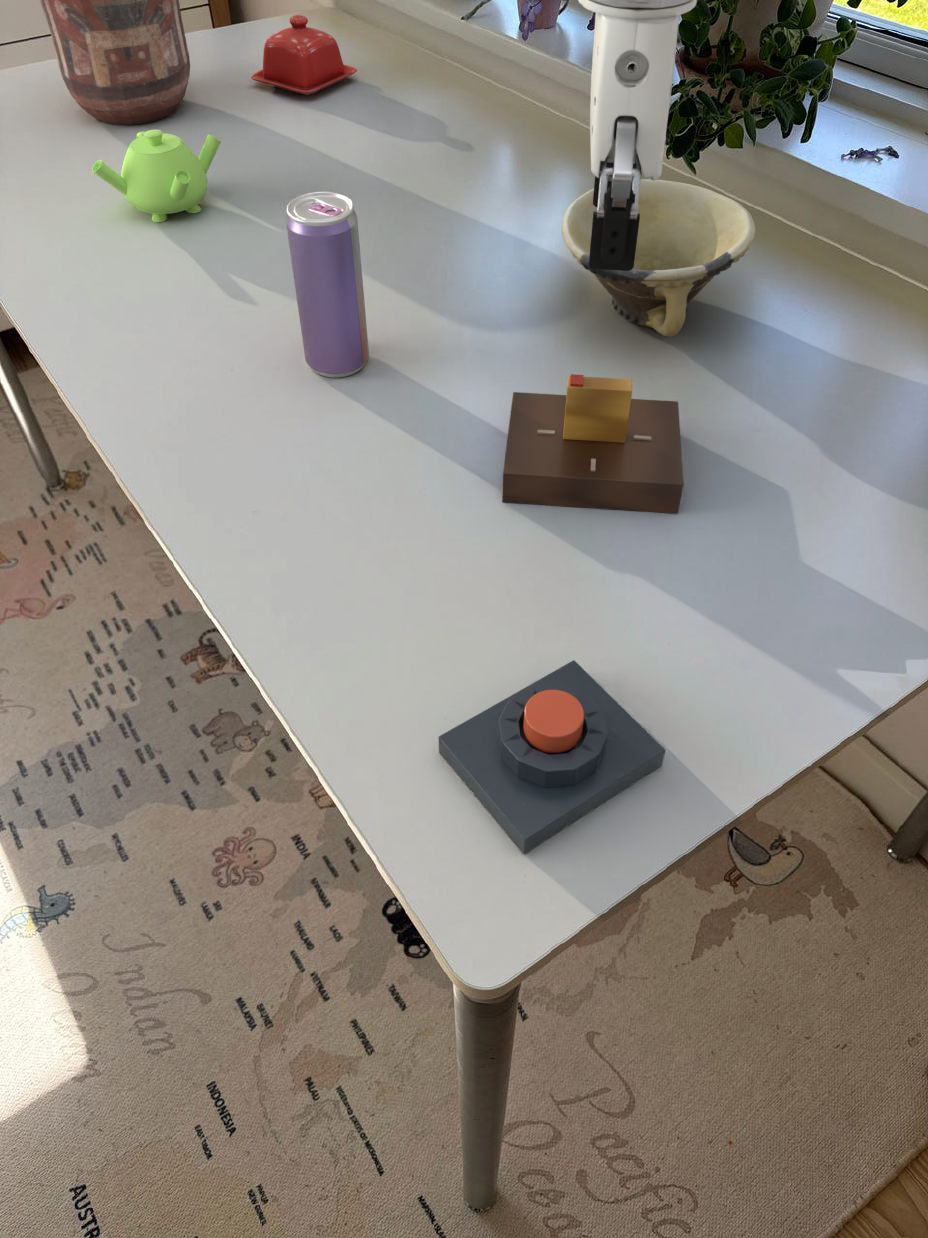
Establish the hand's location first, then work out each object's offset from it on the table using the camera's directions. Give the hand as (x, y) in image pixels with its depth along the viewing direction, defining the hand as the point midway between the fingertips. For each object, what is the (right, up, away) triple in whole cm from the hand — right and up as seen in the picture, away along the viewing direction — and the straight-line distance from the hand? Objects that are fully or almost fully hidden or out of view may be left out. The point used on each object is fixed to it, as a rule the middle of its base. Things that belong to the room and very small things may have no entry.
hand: (611, 235), depth 76 cm
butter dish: (-34, +47, +67) cm, 88 cm away
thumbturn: (-1, -14, +6) cm, 15 cm away
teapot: (-45, +18, +41) cm, 63 cm away
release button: (-6, -36, -14) cm, 39 cm away
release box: (-6, -38, -12) cm, 40 cm away
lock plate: (-1, -16, +8) cm, 18 cm away
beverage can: (-23, -5, +19) cm, 30 cm away
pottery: (-56, +41, +61) cm, 92 cm away
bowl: (+7, +2, +25) cm, 26 cm away
